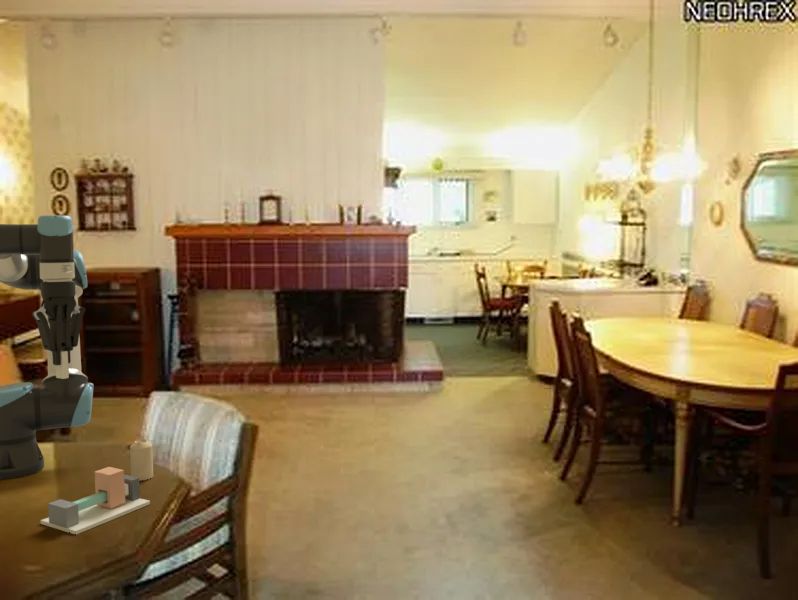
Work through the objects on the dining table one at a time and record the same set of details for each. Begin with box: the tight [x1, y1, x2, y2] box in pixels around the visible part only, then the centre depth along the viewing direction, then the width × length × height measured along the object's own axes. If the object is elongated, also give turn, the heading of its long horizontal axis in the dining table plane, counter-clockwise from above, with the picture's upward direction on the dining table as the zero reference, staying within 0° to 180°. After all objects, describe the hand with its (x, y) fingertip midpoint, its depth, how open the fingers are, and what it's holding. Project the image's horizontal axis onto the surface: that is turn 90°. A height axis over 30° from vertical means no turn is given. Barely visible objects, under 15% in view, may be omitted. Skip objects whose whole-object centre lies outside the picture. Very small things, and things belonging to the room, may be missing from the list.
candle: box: [129, 438, 154, 482], centre depth 190 cm, size 6×6×10 cm
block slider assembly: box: [40, 474, 151, 535], centre depth 165 cm, size 12×20×6 cm, turn 150°
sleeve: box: [94, 466, 125, 508], centre depth 168 cm, size 5×4×8 cm
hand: (62, 377), depth 174 cm, fingers closed
